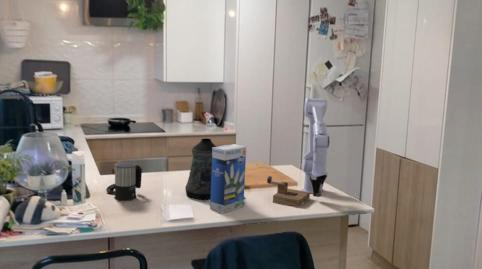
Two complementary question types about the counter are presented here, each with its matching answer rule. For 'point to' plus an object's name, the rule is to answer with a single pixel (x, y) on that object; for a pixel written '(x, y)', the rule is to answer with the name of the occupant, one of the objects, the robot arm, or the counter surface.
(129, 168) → the milk frother
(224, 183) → the string lights box
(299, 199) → the mount
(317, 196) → the shiny metal cylinder
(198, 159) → the beer stein
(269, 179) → the lock pin
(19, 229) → the counter surface
